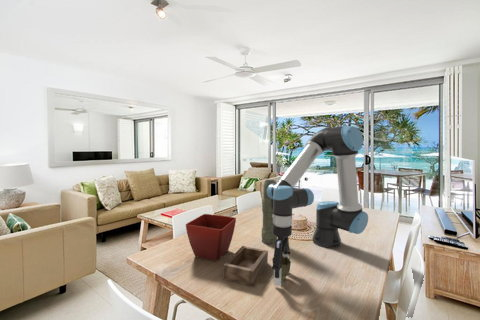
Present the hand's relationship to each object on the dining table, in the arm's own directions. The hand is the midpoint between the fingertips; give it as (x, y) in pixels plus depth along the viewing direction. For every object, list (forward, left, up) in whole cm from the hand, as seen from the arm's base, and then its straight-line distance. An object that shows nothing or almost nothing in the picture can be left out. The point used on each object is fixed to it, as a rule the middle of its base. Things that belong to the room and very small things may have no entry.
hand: (281, 276), depth 96 cm
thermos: (+15, -35, -1) cm, 38 cm away
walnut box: (+15, 0, -1) cm, 15 cm away
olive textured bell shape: (0, 0, -1) cm, 1 cm away
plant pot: (+37, -8, -1) cm, 38 cm away
